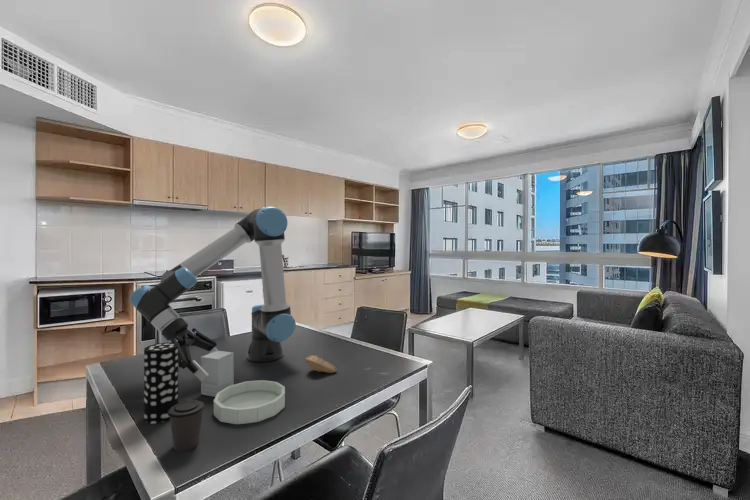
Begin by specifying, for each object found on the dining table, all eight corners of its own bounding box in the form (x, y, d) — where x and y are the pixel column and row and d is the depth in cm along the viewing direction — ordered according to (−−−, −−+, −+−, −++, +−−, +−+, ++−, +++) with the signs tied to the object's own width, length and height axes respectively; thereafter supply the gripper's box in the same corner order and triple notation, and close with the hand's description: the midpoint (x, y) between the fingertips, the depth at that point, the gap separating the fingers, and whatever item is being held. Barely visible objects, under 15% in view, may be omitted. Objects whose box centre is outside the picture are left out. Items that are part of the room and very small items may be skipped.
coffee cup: (159, 449, 81) (159, 408, 81) (190, 432, 88) (190, 394, 88) (182, 458, 78) (182, 415, 78) (212, 440, 85) (212, 400, 85)
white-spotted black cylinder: (154, 409, 100) (154, 342, 100) (183, 408, 101) (183, 342, 101) (137, 424, 92) (137, 351, 92) (169, 423, 93) (169, 351, 93)
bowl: (243, 389, 115) (243, 377, 115) (296, 396, 110) (296, 384, 110) (198, 417, 96) (198, 404, 96) (260, 428, 91) (260, 413, 91)
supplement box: (234, 389, 115) (234, 352, 115) (217, 398, 108) (218, 359, 108) (217, 385, 118) (217, 349, 118) (200, 394, 111) (200, 356, 111)
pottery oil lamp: (335, 377, 126) (335, 358, 126) (303, 377, 126) (303, 358, 126) (337, 368, 135) (337, 351, 135) (307, 368, 135) (307, 351, 135)
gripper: (183, 323, 125) (224, 364, 125) (136, 343, 100) (186, 394, 100) (198, 309, 125) (238, 350, 125) (154, 325, 100) (204, 376, 100)
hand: (215, 370), depth 112 cm, fingers open, 13 cm apart
